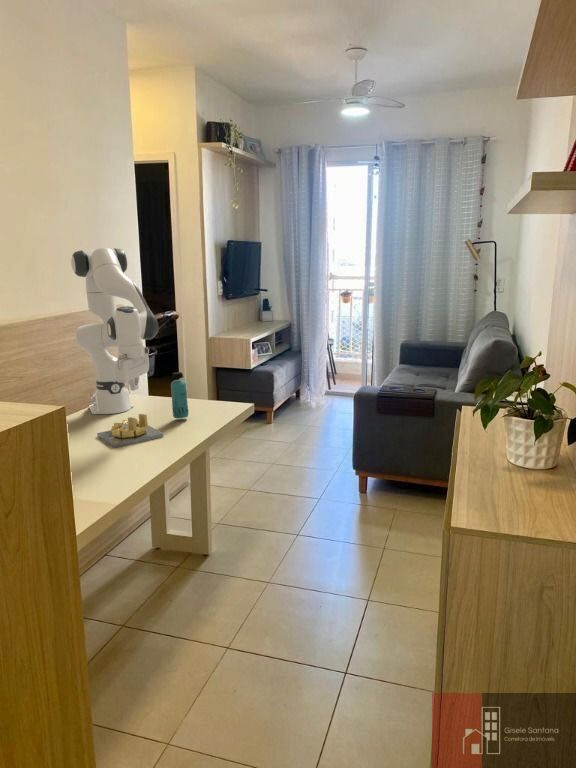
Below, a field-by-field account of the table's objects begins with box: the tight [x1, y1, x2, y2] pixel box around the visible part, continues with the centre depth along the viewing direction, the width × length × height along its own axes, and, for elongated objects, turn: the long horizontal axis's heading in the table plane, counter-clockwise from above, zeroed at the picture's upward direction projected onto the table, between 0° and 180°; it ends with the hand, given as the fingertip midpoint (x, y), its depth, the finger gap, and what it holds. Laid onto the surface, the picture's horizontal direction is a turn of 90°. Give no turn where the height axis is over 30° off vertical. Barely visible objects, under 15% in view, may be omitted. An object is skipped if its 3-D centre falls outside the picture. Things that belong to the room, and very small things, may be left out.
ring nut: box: [110, 413, 149, 438], centre depth 212 cm, size 13×12×7 cm
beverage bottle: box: [170, 371, 190, 419], centre depth 232 cm, size 6×7×20 cm
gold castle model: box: [96, 423, 164, 449], centre depth 213 cm, size 18×19×5 cm
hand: (134, 389), depth 206 cm, fingers closed
